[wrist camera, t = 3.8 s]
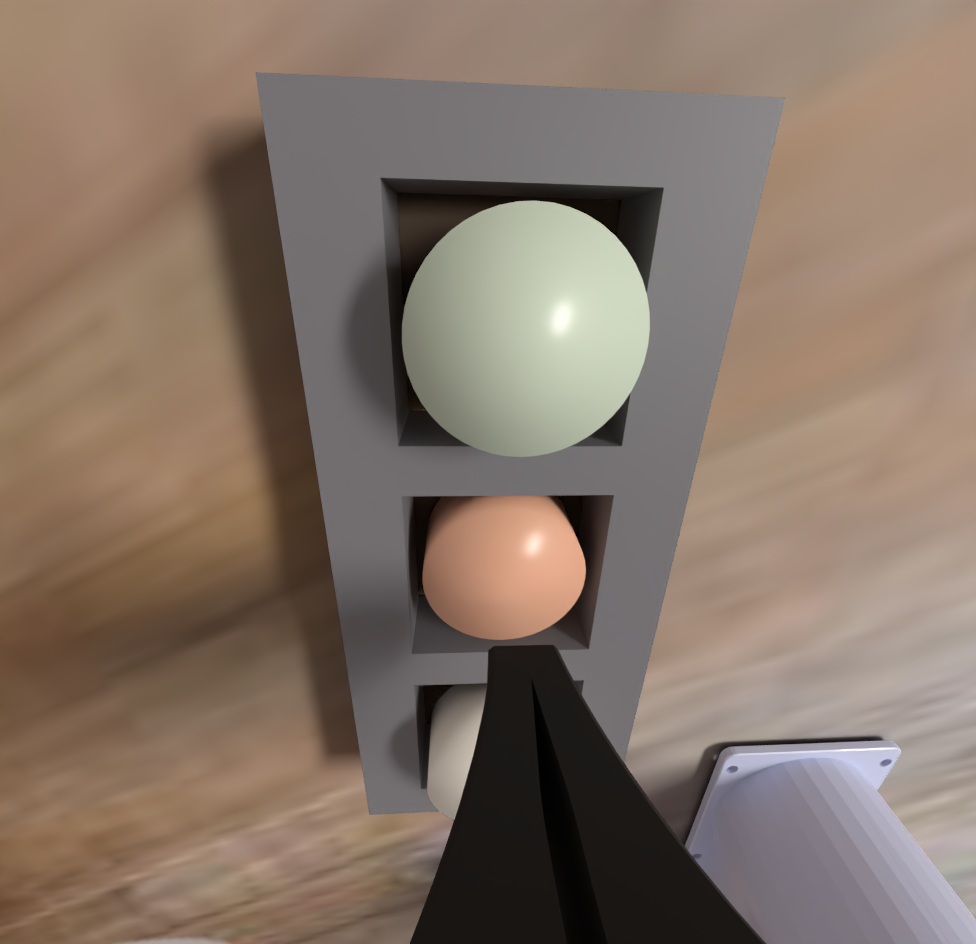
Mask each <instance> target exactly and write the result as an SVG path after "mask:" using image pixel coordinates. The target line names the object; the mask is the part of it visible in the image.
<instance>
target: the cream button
mask: <svg viewBox="0 0 976 944" xmlns="http://www.w3.org/2000/svg"><path fill="white" fill-rule="evenodd" d="M486 690H487V683H478V684H456V685H454V686H453V687H451V688H450V689H448V690H447V691H446V692H445V693H444V694H443V695H442V696H441V697H440V698H439V699H438V701H437V702H436V704H435V706H434V708H433V711H432V715H431V732H430V748H429V765H428V782H427V791H428V796H429V798H430V801H431V802H432V804H433V805H434V806H435V807H436V809H437V810H438V811H440V812H441V813H442V814H444V815H445V816H447V817H449V818H451V819H453V820H455V816H456V813H457V810H458V807H459V804H460V800H461V797H462V793H463V790H464V786H465V782H466V779H467V775H468V772H469V768H470V765H471V761H472V758H473V754H474V750H475V745H476V741H477V736H478V732H479V727H480V723H481V718H482V713H483V708H484V702H485V696H486Z"/></svg>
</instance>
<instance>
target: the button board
mask: <svg viewBox="0 0 976 944" xmlns="http://www.w3.org/2000/svg"><path fill="white" fill-rule="evenodd" d="M256 78H257V85H258V91H259V98H260V104H261V111H262V118H263V124H264V131H265V137H266V144H267V150H268V157H269V163H270V170H271V176H272V183H273V189H274V196H275V202H276V209H277V215H278V222H279V228H280V235H281V241H282V248H283V254H284V261H285V268H286V274H287V281H288V287H289V294H290V300H291V307H292V313H293V320H294V326H295V333H296V339H297V346H298V352H299V359H300V365H301V372H302V378H303V385H304V391H305V398H306V404H307V411H308V418H309V424H310V431H311V437H312V444H313V450H314V457H315V463H316V470H317V476H318V483H319V489H320V496H321V502H322V509H323V515H324V522H325V528H326V535H327V541H328V548H329V554H330V561H331V568H332V574H333V581H334V587H335V594H336V600H337V607H338V613H339V620H340V626H341V633H342V639H343V646H344V652H345V659H346V665H347V672H348V678H349V685H350V691H351V698H352V704H353V711H354V718H355V724H356V731H357V737H358V744H359V750H360V757H361V763H362V770H363V776H364V783H365V789H366V796H367V802H368V809H369V815H374V814H395V813H416V812H438V810H437V809H436V807H435V806H434V805H433V804H432V802H431V801H430V798H429V796H428V791H427V782H428V765H429V748H430V732H431V723H425V704H424V685H446V684H478V683H487V671H488V650H489V649H491V648H492V647H493V646H514V645H554V646H555V647H556V648H558V650H559V652H560V654H561V657H562V659H563V661H564V663H565V665H566V667H567V669H568V671H569V672H570V674H571V676H572V678H573V680H574V682H575V684H576V685H577V687H578V689H579V691H580V693H581V694H582V696H583V698H584V700H585V701H586V703H587V705H588V707H589V708H590V710H591V712H592V713H593V715H594V717H595V718H596V720H597V722H598V723H599V725H600V726H601V728H602V729H603V731H604V733H605V734H606V736H607V737H608V739H609V740H610V742H611V744H612V745H613V747H614V748H615V750H616V752H617V753H618V755H619V756H620V758H621V759H622V761H623V762H624V760H625V756H626V752H627V748H628V743H629V739H630V735H631V731H632V727H633V723H634V719H635V715H636V711H637V706H638V702H639V698H640V694H641V690H642V686H643V682H644V678H645V673H646V669H647V665H648V661H649V657H650V653H651V649H652V645H653V640H654V636H655V632H656V628H657V624H658V620H659V616H660V612H661V607H662V603H663V599H664V595H665V591H666V587H667V583H668V579H669V574H670V570H671V566H672V562H673V558H674V554H675V550H676V546H677V541H678V537H679V533H680V529H681V525H682V521H683V517H684V513H685V508H686V504H687V500H688V496H689V492H690V488H691V484H692V480H693V475H694V471H695V467H696V463H697V459H698V455H699V451H700V447H701V442H702V438H703V434H704V430H705V426H706V422H707V418H708V414H709V409H710V405H711V401H712V397H713V393H714V389H715V385H716V381H717V376H718V372H719V368H720V364H721V360H722V356H723V352H724V348H725V343H726V339H727V335H728V331H729V327H730V323H731V319H732V315H733V310H734V306H735V302H736V298H737V294H738V290H739V286H740V282H741V278H742V273H743V269H744V265H745V261H746V257H747V253H748V249H749V245H750V240H751V236H752V232H753V228H754V224H755V220H756V216H757V212H758V207H759V203H760V199H761V195H762V191H763V187H764V183H765V179H766V174H767V170H768V166H769V162H770V158H771V154H772V150H773V146H774V141H775V137H776V133H777V129H778V125H779V121H780V117H781V113H782V108H783V104H784V100H785V98H781V97H761V96H740V95H719V94H698V93H677V92H656V91H635V90H614V89H593V88H572V87H551V86H530V85H509V84H488V83H467V82H446V81H425V80H404V79H383V78H362V77H341V76H320V75H299V74H278V73H257V72H256ZM397 193H426V194H457V195H487V196H517V197H547V198H578V199H608V200H621V208H620V215H619V223H618V231H617V238H618V239H619V241H620V242H621V243H622V244H623V245H624V247H625V248H626V249H627V251H628V252H629V254H630V255H631V257H632V259H633V260H634V262H635V263H636V266H637V268H638V270H639V273H640V275H641V277H642V279H643V283H644V286H645V290H646V293H647V298H648V305H649V312H650V332H649V342H648V348H647V352H646V356H645V361H644V364H643V366H642V369H641V372H640V375H639V377H638V379H637V381H636V383H635V385H634V387H633V389H632V391H631V393H630V394H629V396H628V397H627V399H626V400H625V402H624V403H623V405H622V406H621V407H620V408H619V409H618V411H617V412H616V413H615V414H614V415H613V416H612V417H611V418H610V419H609V420H608V421H607V422H606V423H605V424H604V425H603V426H602V427H601V428H599V429H598V430H597V431H595V432H594V433H593V434H591V435H590V436H588V437H587V438H585V439H583V440H581V441H580V442H578V443H576V444H574V445H572V446H569V447H567V448H565V449H562V450H559V451H556V452H552V453H549V454H544V455H538V456H529V457H511V456H502V455H497V454H491V453H488V452H485V451H482V450H479V449H476V448H474V447H472V446H470V445H468V444H465V443H464V442H462V441H460V440H459V439H457V438H456V437H454V436H452V435H451V434H450V433H449V432H447V431H446V430H445V429H444V428H442V427H441V426H440V425H439V424H438V423H437V422H436V421H435V420H434V419H433V417H432V416H431V415H430V414H429V413H428V411H409V405H408V386H407V369H406V365H405V361H404V356H403V347H402V321H403V314H404V311H403V293H402V274H401V255H400V236H399V218H398V199H397ZM547 495H583V502H582V509H581V517H580V525H579V533H578V542H579V545H580V547H581V549H582V552H583V555H584V559H585V566H586V575H585V581H584V586H583V589H582V591H581V594H580V596H579V598H578V599H577V601H576V603H575V604H574V605H573V607H572V608H571V609H570V610H569V611H568V612H567V613H566V614H565V615H564V616H563V617H562V618H561V619H560V620H558V621H557V622H556V623H554V624H553V625H551V626H550V627H548V628H546V629H544V630H542V631H540V632H537V633H534V634H532V635H529V636H525V637H521V638H515V639H507V640H491V639H483V638H478V637H474V636H471V635H468V634H465V633H462V632H460V631H458V630H456V629H454V628H453V627H451V626H450V625H448V624H447V623H445V622H444V621H443V620H442V619H441V618H440V617H439V616H438V615H437V614H436V613H435V612H434V610H433V609H432V607H431V606H430V604H429V602H428V600H427V598H426V595H423V596H419V592H418V573H417V554H416V536H415V517H414V498H413V496H547Z"/></svg>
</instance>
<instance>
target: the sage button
mask: <svg viewBox="0 0 976 944" xmlns="http://www.w3.org/2000/svg"><path fill="white" fill-rule="evenodd" d="M649 332H650V312H649V305H648V298H647V293H646V290H645V286H644V283H643V279H642V277H641V275H640V273H639V270H638V268H637V266H636V263H635V262H634V260H633V259H632V257H631V255H630V254H629V252H628V251H627V249H626V248H625V247H624V245H623V244H622V243H621V242H620V241H619V239H618V238H617V237H616V236H615V235H614V234H613V233H612V232H611V231H609V230H608V229H607V228H606V227H605V226H604V225H603V224H601V223H600V222H598V221H597V220H595V219H593V218H592V217H590V216H589V215H587V214H585V213H583V212H581V211H578V210H576V209H574V208H572V207H568V206H565V205H561V204H557V203H553V202H544V201H516V202H511V203H506V204H501V205H497V206H495V207H492V208H489V209H486V210H483V211H481V212H479V213H477V214H475V215H473V216H471V217H470V218H468V219H466V220H464V221H463V222H462V223H460V224H459V225H457V226H456V227H455V228H453V229H452V230H451V231H449V232H448V233H447V234H446V235H445V236H444V237H443V238H442V239H441V240H440V241H439V242H438V243H437V244H436V245H435V247H434V248H433V249H432V250H431V252H430V253H429V254H428V256H427V257H426V258H425V260H424V261H423V263H422V265H421V266H420V268H419V270H418V272H417V273H416V275H415V278H414V280H413V283H412V285H411V287H410V290H409V293H408V296H407V300H406V304H405V307H404V314H403V321H402V347H403V356H404V361H405V365H406V369H407V373H408V376H409V378H410V381H411V384H412V386H413V389H414V391H415V392H416V394H417V396H418V398H419V400H420V401H421V403H422V405H423V406H424V407H425V409H426V410H427V411H428V413H429V414H430V415H431V416H432V417H433V419H434V420H435V421H436V422H437V423H438V424H439V425H440V426H441V427H442V428H444V429H445V430H446V431H447V432H449V433H450V434H451V435H452V436H454V437H456V438H457V439H459V440H460V441H462V442H464V443H465V444H468V445H470V446H472V447H474V448H476V449H479V450H482V451H485V452H488V453H491V454H497V455H502V456H511V457H529V456H538V455H544V454H549V453H552V452H556V451H559V450H562V449H565V448H567V447H569V446H572V445H574V444H576V443H578V442H580V441H581V440H583V439H585V438H587V437H588V436H590V435H591V434H593V433H594V432H595V431H597V430H598V429H599V428H601V427H602V426H603V425H604V424H605V423H606V422H607V421H608V420H609V419H610V418H611V417H612V416H613V415H614V414H615V413H616V412H617V411H618V409H619V408H620V407H621V406H622V405H623V403H624V402H625V400H626V399H627V397H628V396H629V394H630V393H631V391H632V389H633V387H634V385H635V383H636V381H637V379H638V377H639V375H640V372H641V369H642V366H643V364H644V361H645V356H646V352H647V348H648V342H649Z"/></svg>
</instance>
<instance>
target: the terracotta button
mask: <svg viewBox="0 0 976 944" xmlns="http://www.w3.org/2000/svg"><path fill="white" fill-rule="evenodd" d="M585 575H586V566H585V559H584V555H583V552H582V549H581V547H580V545H579V542H578V540H577V537H576V535H575V532H574V530H573V527H572V525H571V522H570V520H569V517H568V515H567V512H566V510H565V508H564V506H563V503H562V502H561V500H560V499H559V497H558V496H557V495H547V496H442V497H441V498H440V499H439V501H438V502H437V503H436V505H435V507H434V509H433V511H432V513H431V516H430V519H429V524H428V530H427V539H426V548H425V557H424V566H423V588H424V592H425V595H426V598H427V600H428V602H429V604H430V606H431V607H432V609H433V610H434V612H435V613H436V614H437V615H438V616H439V617H440V618H441V619H442V620H443V621H444V622H445V623H447V624H448V625H450V626H451V627H453V628H454V629H456V630H458V631H460V632H462V633H465V634H468V635H471V636H474V637H478V638H483V639H491V640H507V639H515V638H521V637H525V636H529V635H532V634H534V633H537V632H540V631H542V630H544V629H546V628H548V627H550V626H551V625H553V624H554V623H556V622H557V621H558V620H560V619H561V618H562V617H563V616H564V615H565V614H566V613H567V612H568V611H569V610H570V609H571V608H572V607H573V605H574V604H575V603H576V601H577V599H578V598H579V596H580V594H581V591H582V589H583V586H584V581H585Z"/></svg>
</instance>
